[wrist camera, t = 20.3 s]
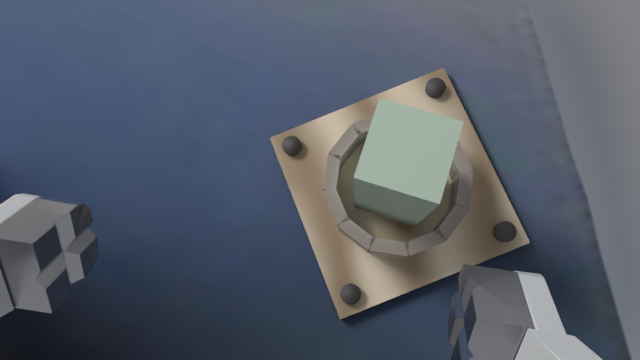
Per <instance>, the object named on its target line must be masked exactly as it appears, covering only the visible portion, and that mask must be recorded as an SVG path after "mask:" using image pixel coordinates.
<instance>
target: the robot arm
mask: <svg viewBox="0 0 640 360" xmlns="http://www.w3.org/2000/svg"><path fill="white" fill-rule="evenodd" d="M92 221H93V218H92V214H91V210H90V208H89V207H88V206H86V205H85V204H82V203H76V202H71V201H65V200H60V199H54V198H49V197H41V196H36V195H30V194H24V193H22V194H15V195H13V196H12V197H11V198H9V199H8V200H6V201H5V202H3V203H2V204H0V317H2V316H4V315H5V314H7V313H9V312H11V311H13V310H14V308H19V309H26V310H33V311H39V312H46V313H53V312H54V311H55V310H56V309H57V308H58V307H59V305H60V304H61V303H62V302H63V301H64V300H65V299H66V298H67V297H68V295H69V294H70V293H71V292H72V283H74V282H76V281H78V280H80V279H83V278H85V276H86V275H87V274H88V273H89V272H90V271H91V269H92V268H93V265H94V263H95V260H96V258H97V252H98V244H97V238H96V236H95V235H94V234H93V233H92V231H91V230H90V229H89V228H88V227H89V226H90V224H91V223H92ZM458 283H459V292H458V293H456V294H455V295H453V298H452V302H451V306H450V312H449V320H448V333H449V341H450V342H451V344H452V345H453V346H454V351H453V354H452V357H451V360H602V359H601V358H600V357H599V356H597V355H596V354H595V353H594V352H593V351H592V350H590V349H589V348H588V347H587V346H586V345H585V344H583V343H582V342H581V341H580V340H579V339H577V338H576V337H575V336H571V335H567V334H566V332H565V329H564V326H563V324H562V321H561V319H560V316H559V314H558V311H557V309H556V306H555V304H554V301H553V299H552V296H551V294H550V291H549V289H548V286H547V284H546V281H545V279H544V277H543V276H542V275H541V274H536V273H529V272H521V271H507V270H501V269H494V268H488V267H481V266H475V265H468V264H463V266H462V268H461V270H460V274H459V277H458Z"/></svg>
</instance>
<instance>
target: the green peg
mask: <svg viewBox="0 0 640 360" xmlns="http://www.w3.org/2000/svg"><path fill="white" fill-rule="evenodd" d="M463 122H464V121H460V120H457V119H453V118H449V117H446V116H442V115H439V114H435V113H432V112H428V111H425V110H421V109H417V108H414V107H410V106H407V105H403V104H400V103H396V102H393V101H389V100H385V99H382V98H379V100H378V103H377V107H376V110H375V113H374V116H373V119H372V122H371V125H370V128H369V131H368V134H367V137H366V140H365V143H364V147H363V150H362V153H361V156H360V159H359V162H358V165H357V168H356V171H355V174H354V177H353V179H354V199H355V208H358V209H361V210H364V211H367V212H370V213H373V214H377V215H380V216H383V217H386V218H389V219H392V220H395V221H399V222H402V223H405V224H408V225H411V226H414V227H415V226H416V225H417V224H418V223H419V222H420V221H421V220H423V219H424V218H425V217H426V216H427V215H428V214H429V213H430V212H432V211H433V210H434V209H435V208H436V207H437V206H438V205H439V204H440V202H441V198H442V195H443V191H444V188H445V184H446V181H447V178H448V174H449V171H450V167H451V164H452V160H453V157H454V153H455V150H456V147H457V143H458V140H459V136H460V133H461V129H462V126H463Z"/></svg>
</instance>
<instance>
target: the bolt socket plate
mask: <svg viewBox="0 0 640 360" xmlns="http://www.w3.org/2000/svg"><path fill="white" fill-rule="evenodd" d="M379 98H382V99H385V100H389V101H393V102H396V103H400V104H403V105H407V106H410V107H414V108H417V109H421V110H425V111H428V112H432V113H435V114H439V115H442V116H446V117H449V118H453V119H457V120H460V121H464V122H463V126H462V129H461V133H460V136H459V140H458V143H457V147H456V150H455V153H454V157H453V160H452V164H451V167H450V171H449V174H448V178H447V181H446V184H445V188H444V191H443V195H442V198H441V202H440V204H439V205H438V206H437V207H436V208H435V209H434V210H433V211H432V212H430V213H429V214H428V215H427V216H426V217H425V218H424V219H423V220H421V221H420V222H419V223H418V224H417V225H416V226H415V227H414V226H411V225H408V224H405V223H402V222H399V221H395V220H392V219H389V218H386V217H383V216H380V215H377V214H373V213H370V212H367V211H364V210H361V209H358V208H355V199H354V179H353V177H354V174H355V171H356V168H357V165H358V162H359V159H360V156H361V153H362V150H363V147H364V143H365V140H366V137H367V134H368V131H369V128H370V125H371V122H372V119H373V116H374V113H375V110H376V107H377V103H378V100H379ZM270 139H271V142H272V145H273V147H274V150H275V152H276V155H277V158H278V160H279V163H280V165H281V168H282V170H283V173H284V176H285V178H286V181H287V183H288V186H289V189H290V191H291V194H292V196H293V199H294V201H295V204H296V207H297V209H298V212H299V214H300V217H301V220H302V222H303V225H304V227H305V230H306V232H307V235H308V238H309V240H310V243H311V245H312V248H313V251H314V253H315V256H316V258H317V261H318V263H319V266H320V269H321V271H322V274H323V276H324V279H325V282H326V284H327V287H328V289H329V292H330V294H331V297H332V300H333V302H334V305H335V307H336V310H337V313H338V315H339V318H340V319H343V318H345V317H348V316H350V315H353V314H355V313H358V312H360V311H363V310H365V309H368V308H370V307H372V306H375V305H377V304H380V303H382V302H385V301H387V300H390V299H392V298H395V297H397V296H400V295H402V294H405V293H407V292H410V291H412V290H415V289H417V288H420V287H422V286H424V285H427V284H429V283H432V282H434V281H437V280H439V279H442V278H444V277H447V276H449V275H452V274H454V273H457V272H459V271H460V270H461V268H462V266H463V264H468V265H476V264H479V263H481V262H484V261H486V260H489V259H491V258H494V257H496V256H499V255H501V254H504V253H506V252H509V251H511V250H514V249H516V248H519V247H521V246H523V245H526V244H528V243H530V241H529V239H528V237H527V235H526V233H525V231H524V229H523V227H522V225H521V223H520V221H519V219H518V217H517V215H516V213H515V211H514V209H513V207H512V205H511V203H510V201H509V199H508V197H507V195H506V193H505V191H504V189H503V187H502V185H501V183H500V181H499V178H498V176H497V174H496V172H495V170H494V168H493V166H492V164H491V162H490V160H489V158H488V156H487V154H486V152H485V150H484V148H483V146H482V144H481V142H480V140H479V138H478V136H477V134H476V132H475V130H474V128H473V126H472V124H471V122H470V120H469V118H468V116H467V114H466V112H465V110H464V108H463V106H462V104H461V102H460V100H459V97H458V95H457V93H456V91H455V89H454V87H453V85H452V83H451V81H450V79H449V77H448V75H447V73H446V71H445V69H444V68H442V69H439V70H437V71H434V72H432V73H429V74H427V75H424V76H422V77H419V78H417V79H414V80H412V81H409V82H407V83H404V84H402V85H399V86H397V87H395V88H392V89H390V90H387V91H385V92H382V93H380V94H377V95H375V96H372V97H370V98H367V99H365V100H362V101H360V102H357V103H355V104H352V105H350V106H347V107H345V108H342V109H340V110H338V111H335V112H333V113H330V114H328V115H325V116H323V117H320V118H318V119H315V120H313V121H310V122H308V123H305V124H303V125H300V126H298V127H295V128H293V129H290V130H288V131H285V132H283V133H281V134H278V135H276V136H273V137H271V138H270Z"/></svg>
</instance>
